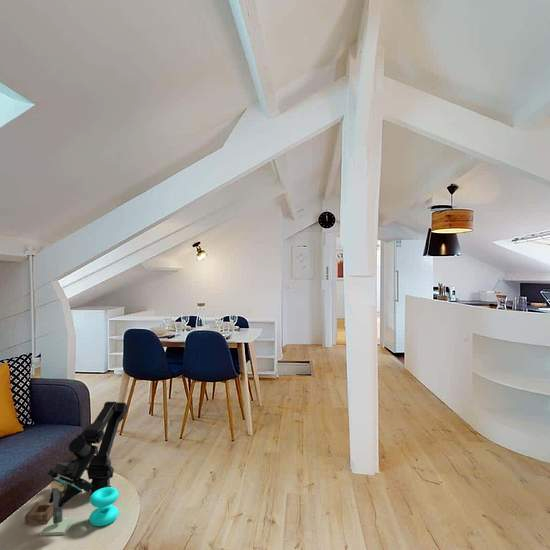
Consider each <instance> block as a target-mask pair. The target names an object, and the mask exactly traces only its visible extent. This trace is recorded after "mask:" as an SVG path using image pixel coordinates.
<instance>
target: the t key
mask: <svg viewBox="0 0 550 550" xmlns="http://www.w3.org/2000/svg"><path fill="white" fill-rule="evenodd" d="M50 488H52V489H53V488H54V489H53V516H52V518H53V523H54V524H58V523H60V522H62V518H64V516H63V515H64V514H63V512H64V511H63V509H64V508H63V506H64V505H63V506H62V507H58V505H59V503H60V501H61V499H62V497H63V490H65V489H66V485H65V484H62V483H59V482H57V481H53V480H52V482H50Z"/></svg>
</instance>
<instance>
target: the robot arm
mask: <svg viewBox="0 0 550 550" xmlns="http://www.w3.org/2000/svg"><path fill="white" fill-rule="evenodd" d="M128 410H129V405H127V403H126V402H118V401H106V402H104V404H103V407H102V409H101V411H100V412H99V413H98V415H97V417H96V418H95V420H94V421H93V422H92V423H89V424H88V425H87V426H86V427H85V428H84V430H83V431H82V432H80V434H78V435H77V437H75V438H74V439H72V441H70V442H69V445H68V450H69V452H70V453H71V454H72V455H74V456H75V457H74V459H70V460H69V461H68V462H56V463H55V466H54V468H51V469H50V470H49V471H48V473H47V476H48V477H51V481H52V482H53V481H57V482H59V483H62V484H64V481H66V482H69V483H71V484H72V485H69V484H67V485H66V486H67V491H66V492H65V494H64V496H63V497H62V499H61V501H60V503H59V505H58V507H62V506H64V505H65V504H66V503H68V502H69V501H70V500H71V499H73V498H74V497H76V496H77V495H78V494H80V493H83V492H86V493H90V494H89V495H90V497H91V495H92V494H93V493H94V492H95V491H97V490H99V489H101V488H105V487H112V485H111V478H113V477H114V471H115V469H114V468H113V467H112V460H111V458H110V454H111V450H112V448H113V444H114V442H115V441H114V440H115V437H116V435H117V430H118V427H119V424H120V423H121V422H122V421H123V420H124V419H125V417H126V414H127V412H128ZM92 444H93V445H92ZM94 444H100V445H99V446H98V445H97V446H96V445H94ZM85 471H86V473H87V477H88V480H91V482H89V481H88V480H86V479H84V478H82V476H83V474H84V473H85ZM72 479H74V480H72ZM53 489H54V488H52V491H51V492H50V493H51V494H50V496H49V500H48V502H49V503H52V502H53ZM82 490H83V491H82Z"/></svg>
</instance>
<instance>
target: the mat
mask: <svg viewBox="0 0 550 550" xmlns="http://www.w3.org/2000/svg"><path fill="white" fill-rule="evenodd" d="M74 521H75V517H63V518H62V522H60V523H58V524H54V523H53V517H52V518H51V519H50V520H49V522H48V523H46V525H45V526H44V527H43V529H42V530H41V531H40V532H39V535H40V537H42V536H64V535H65V533H67V531H68V530H69V528H70V526H71V525H72V523H73V522H74Z"/></svg>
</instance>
